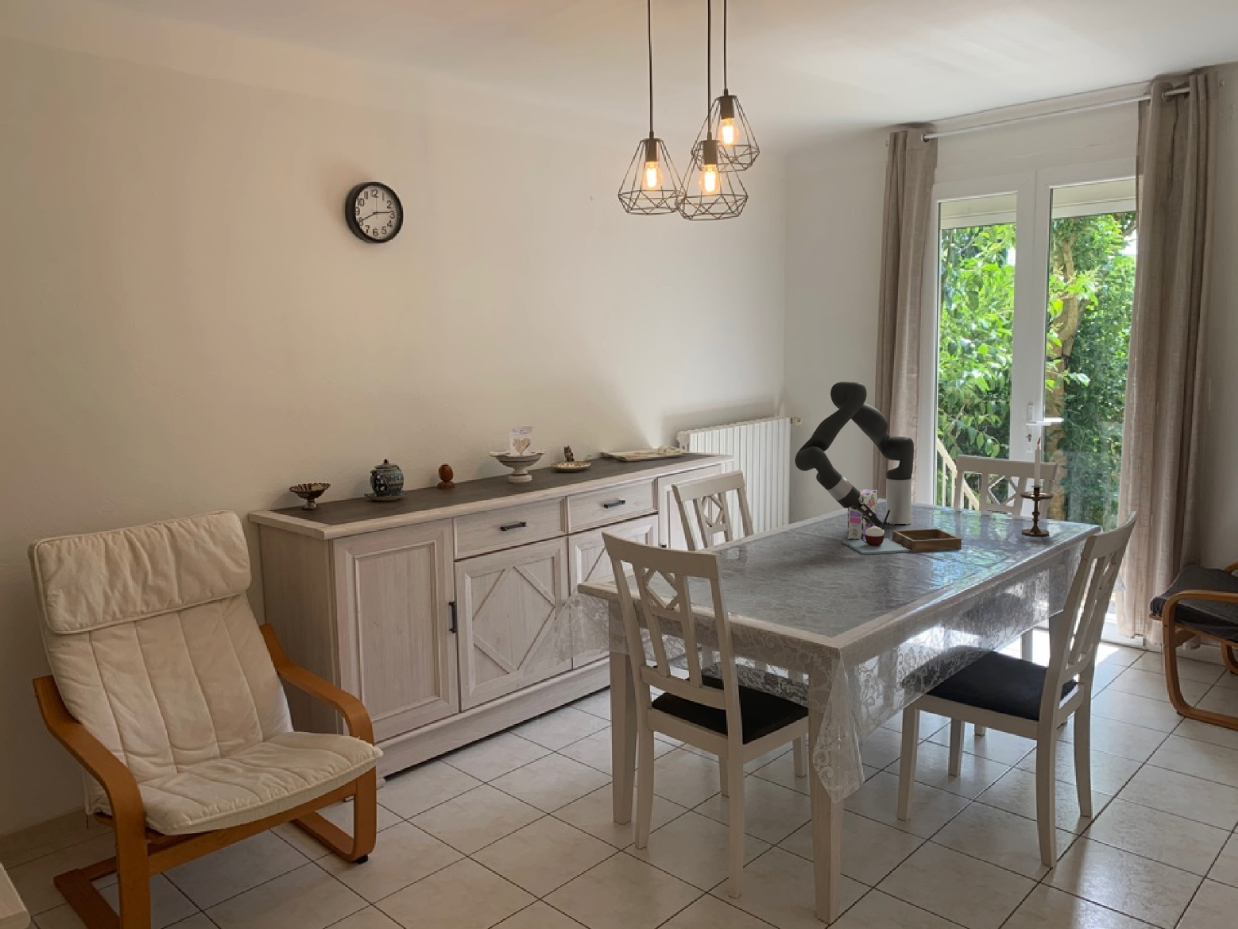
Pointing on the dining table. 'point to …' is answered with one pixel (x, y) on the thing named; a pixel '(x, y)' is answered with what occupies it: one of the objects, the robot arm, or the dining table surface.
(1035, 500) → the candlestick
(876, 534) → the cocoa
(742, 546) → the dining table surface
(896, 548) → the board
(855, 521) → the candy box
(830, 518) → the dining table surface
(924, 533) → the bin
